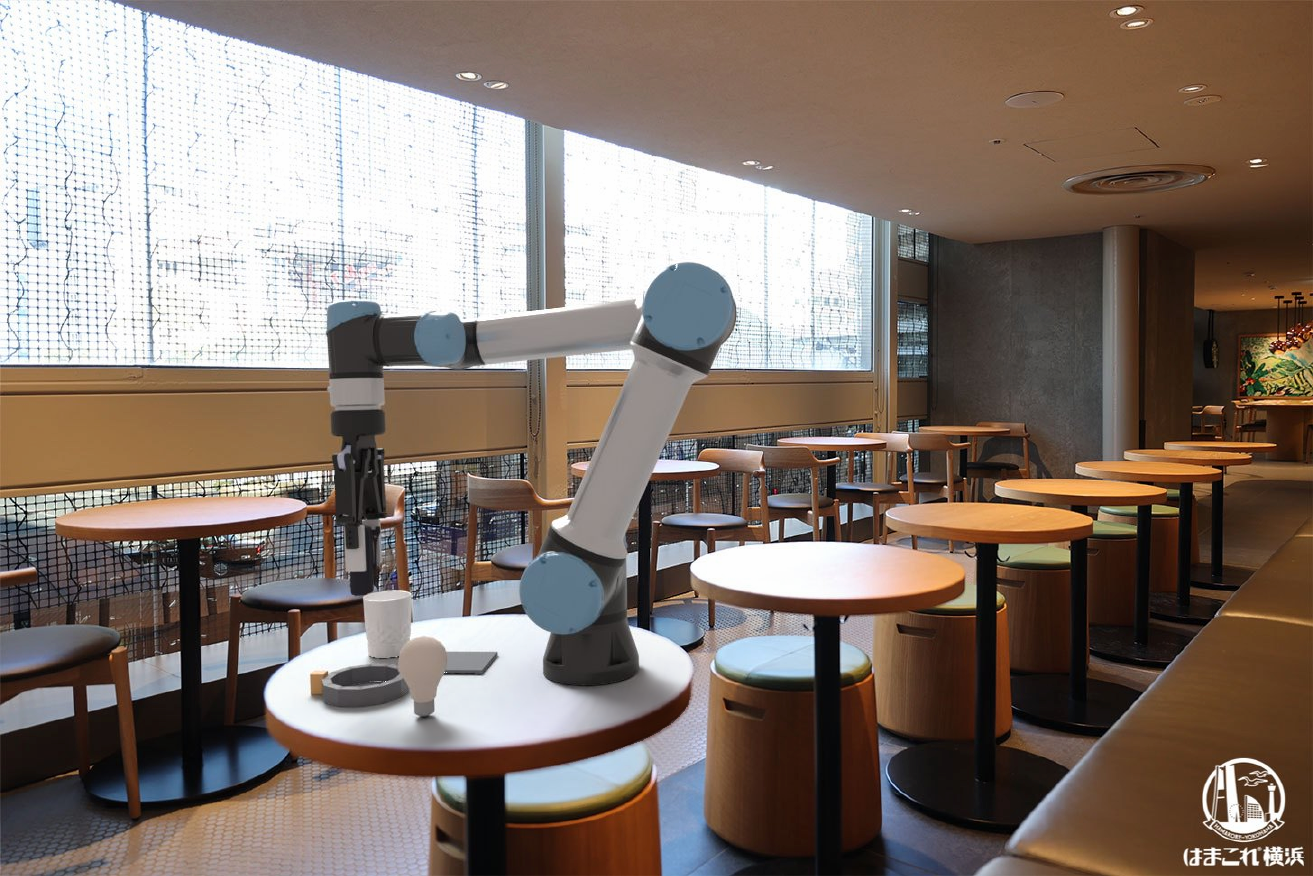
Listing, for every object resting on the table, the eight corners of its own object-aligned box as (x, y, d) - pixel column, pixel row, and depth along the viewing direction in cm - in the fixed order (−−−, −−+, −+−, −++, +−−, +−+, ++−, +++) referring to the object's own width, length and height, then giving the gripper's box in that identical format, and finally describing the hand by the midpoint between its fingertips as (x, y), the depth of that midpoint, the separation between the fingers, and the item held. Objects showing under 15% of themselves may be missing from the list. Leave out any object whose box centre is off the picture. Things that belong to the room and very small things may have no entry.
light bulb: (405, 709, 122) (402, 631, 122) (452, 707, 122) (450, 629, 122) (394, 726, 115) (391, 644, 115) (444, 724, 116) (442, 642, 115)
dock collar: (418, 680, 135) (418, 660, 135) (390, 707, 123) (390, 686, 123) (330, 679, 136) (330, 660, 135) (294, 706, 124) (293, 685, 124)
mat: (497, 655, 147) (497, 651, 147) (482, 674, 137) (481, 670, 137) (439, 655, 148) (439, 651, 148) (419, 673, 138) (419, 669, 138)
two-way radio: (350, 591, 130) (348, 490, 130) (381, 588, 132) (379, 489, 131) (349, 597, 125) (346, 493, 125) (381, 595, 126) (379, 491, 126)
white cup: (420, 647, 153) (418, 590, 152) (402, 660, 145) (400, 601, 145) (376, 646, 154) (374, 590, 153) (356, 660, 146) (355, 600, 145)
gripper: (357, 408, 137) (364, 556, 138) (303, 410, 118) (311, 580, 119) (404, 407, 136) (410, 555, 137) (357, 408, 118) (364, 579, 119)
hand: (364, 566), depth 128 cm, fingers closed on two-way radio, 5 cm apart
